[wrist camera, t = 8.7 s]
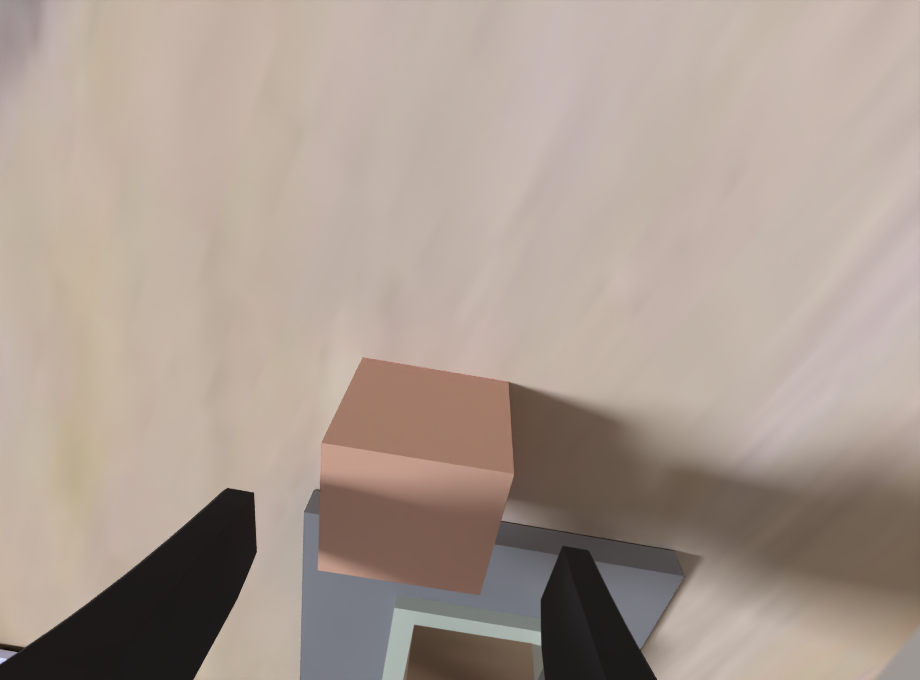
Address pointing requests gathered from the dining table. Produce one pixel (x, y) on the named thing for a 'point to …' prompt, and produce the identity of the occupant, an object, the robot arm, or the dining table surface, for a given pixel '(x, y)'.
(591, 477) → the dining table surface
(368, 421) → the terracotta block
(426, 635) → the walnut block
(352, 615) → the slate baseplate
